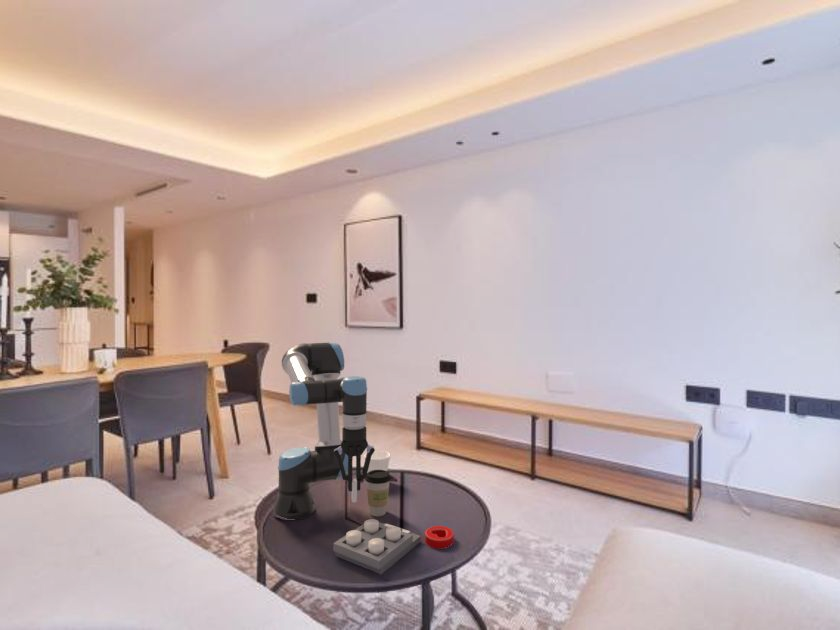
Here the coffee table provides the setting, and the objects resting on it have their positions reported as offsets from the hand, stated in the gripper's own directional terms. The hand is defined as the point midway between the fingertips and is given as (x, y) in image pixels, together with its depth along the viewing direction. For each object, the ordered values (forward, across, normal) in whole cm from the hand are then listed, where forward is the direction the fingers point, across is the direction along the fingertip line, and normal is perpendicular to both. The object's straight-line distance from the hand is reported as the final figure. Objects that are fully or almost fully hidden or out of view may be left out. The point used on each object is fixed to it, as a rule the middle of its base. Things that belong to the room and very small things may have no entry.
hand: (354, 500), depth 145 cm
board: (+18, +8, +2) cm, 20 cm away
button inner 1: (+14, 0, 0) cm, 14 cm away
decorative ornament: (+18, +29, +3) cm, 34 cm away
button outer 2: (+14, +13, 0) cm, 19 cm away
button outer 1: (+14, +6, -6) cm, 16 cm away
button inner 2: (+14, +6, +7) cm, 17 cm away
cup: (+18, +15, +57) cm, 61 cm away
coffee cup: (+18, +11, +28) cm, 35 cm away
